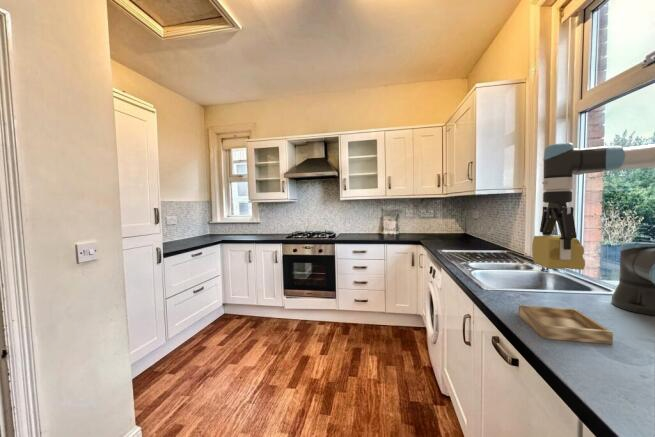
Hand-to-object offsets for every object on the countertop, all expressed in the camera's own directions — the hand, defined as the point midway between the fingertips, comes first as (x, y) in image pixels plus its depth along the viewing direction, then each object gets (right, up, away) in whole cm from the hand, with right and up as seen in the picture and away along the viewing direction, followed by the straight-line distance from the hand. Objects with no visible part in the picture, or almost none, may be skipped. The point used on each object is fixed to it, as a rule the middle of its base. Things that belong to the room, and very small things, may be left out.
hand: (556, 256), depth 95 cm
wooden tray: (-8, -20, -11) cm, 25 cm away
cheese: (0, -4, 0) cm, 4 cm away
